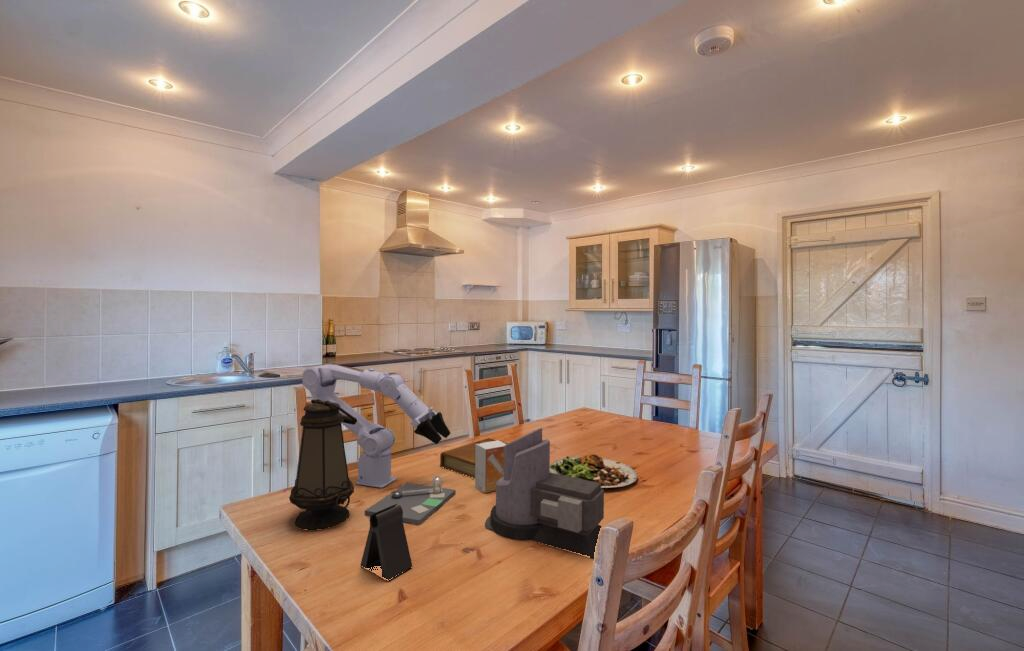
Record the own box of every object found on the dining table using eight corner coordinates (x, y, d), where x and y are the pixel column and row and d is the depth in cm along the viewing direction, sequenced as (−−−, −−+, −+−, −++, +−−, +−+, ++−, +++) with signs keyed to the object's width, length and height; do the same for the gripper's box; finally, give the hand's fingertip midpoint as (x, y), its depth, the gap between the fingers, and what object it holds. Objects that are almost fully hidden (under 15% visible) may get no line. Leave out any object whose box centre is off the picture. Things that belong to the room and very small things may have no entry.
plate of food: (537, 484, 135) (537, 465, 134) (561, 457, 160) (562, 440, 160) (631, 503, 124) (632, 482, 124) (641, 470, 150) (642, 452, 149)
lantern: (272, 520, 110) (271, 400, 109) (327, 499, 123) (327, 391, 122) (315, 541, 100) (314, 409, 99) (370, 516, 112) (370, 399, 112)
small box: (485, 494, 127) (485, 449, 127) (474, 486, 132) (474, 443, 132) (508, 488, 131) (509, 444, 131) (497, 481, 137) (497, 439, 136)
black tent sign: (360, 566, 90) (360, 508, 90) (384, 553, 95) (384, 498, 95) (388, 582, 85) (388, 521, 84) (412, 568, 90) (412, 510, 89)
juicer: (472, 527, 107) (473, 427, 106) (507, 503, 121) (508, 415, 120) (589, 564, 92) (591, 448, 91) (614, 532, 105) (615, 430, 105)
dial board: (364, 515, 113) (364, 510, 113) (407, 486, 132) (407, 482, 132) (420, 525, 108) (420, 520, 108) (456, 494, 127) (456, 489, 127)
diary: (487, 452, 167) (487, 437, 167) (525, 464, 155) (525, 447, 155) (440, 468, 149) (440, 451, 149) (479, 482, 137) (479, 463, 137)
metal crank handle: (391, 498, 120) (391, 483, 120) (391, 494, 122) (391, 480, 122) (443, 493, 124) (443, 478, 124) (441, 489, 126) (441, 475, 126)
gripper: (410, 399, 124) (444, 434, 122) (430, 393, 139) (460, 424, 136) (394, 417, 125) (427, 452, 123) (415, 409, 139) (445, 440, 137)
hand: (443, 438), depth 130 cm, fingers open, 7 cm apart
